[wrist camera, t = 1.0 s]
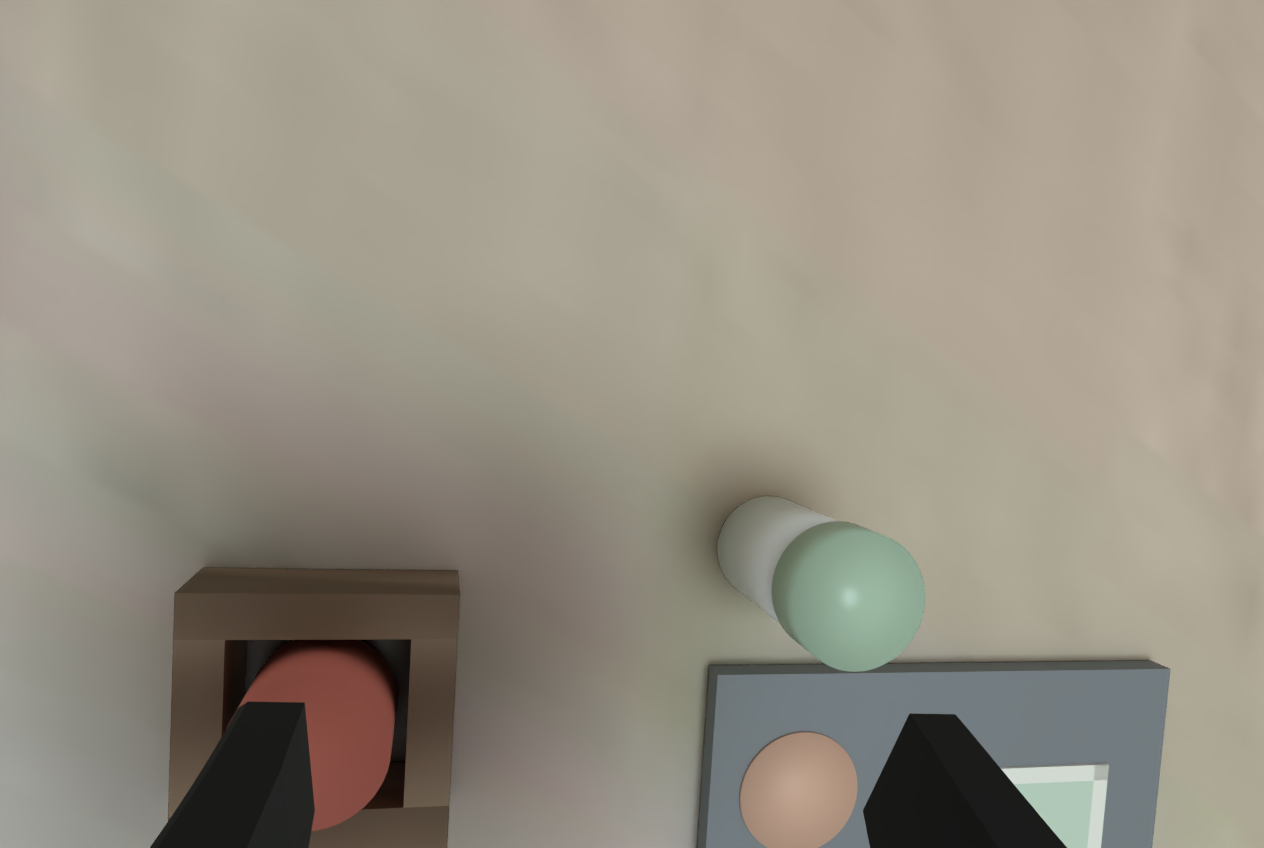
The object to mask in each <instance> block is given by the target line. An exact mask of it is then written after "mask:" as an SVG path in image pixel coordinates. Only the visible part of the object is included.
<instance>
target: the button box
mask: <svg viewBox="0 0 1264 848" xmlns="http://www.w3.org/2000/svg"><path fill="white" fill-rule="evenodd" d="M459 601H460V591H459V579H458V571H444V570H358V569H272V568H202V569H201V570H200V571H199V572H198V573H197V574H195V575H194V576H193V577H192V578H191V579H190V580H189V581H188V582H186V583H185V584H184V585H183V586H182V587H181V588H180V589H179V590H178V591H176V592H175V598H174V632H173V666H172V700H171V734H170V768H169V802H168V821H169V820H170V818H171V816H172V815H173V813H174V812H175V810H176V809H177V807H178V806H179V804H180V803H181V801H182V800H183V798H184V797H185V795H186V794H187V792H188V791H189V789H190V788H191V786H192V784H193V783H194V781H195V780H196V778H197V777H198V775H199V773H200V772H201V770H202V769H203V767H204V765H205V764H206V762H207V761H208V759H209V757H210V756H211V754H212V752H213V751H214V749H215V747H216V746H217V744H218V742H219V741H220V739H221V737H222V736H223V734H224V732H225V730H226V729H227V726H228V724H229V723H230V721H231V719H232V717H233V716H234V714H235V712H236V710H237V709H238V707H239V705H240V703H241V702H242V700H243V698H244V696H245V667H246V640H372V639H411V656H410V677H409V699H408V720H407V741H406V762H403V763H389V767H388V771H387V774H386V776H385V779H384V781H383V783H382V785H381V786H380V788H379V790H378V791H377V793H376V794H375V795H374V797H373V798H372V799H371V800H370V801H369V803H368V804H367V805H366V806H365V807H364V808H362V809H361V810H360V811H359V812H358V813H356V814H355V815H353V816H352V817H350V818H349V819H347V820H345V821H343V822H341V823H339V824H337V825H334V826H332V827H329V828H326V829H321V830H317V831H311V836H310V842H309V848H447V841H448V821H449V801H450V781H451V761H452V741H453V721H454V701H455V681H456V661H457V641H458V621H459Z"/></svg>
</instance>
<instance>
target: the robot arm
mask: <svg viewBox="0 0 1264 848" xmlns="http://www.w3.org/2000/svg"><path fill="white" fill-rule="evenodd" d="M314 813H315V806H314V796H313V785H312V774H311V764H310V753H309V742H308V732H307V721H306V710H305V703H304V702H246V703H245V704H243V705H242V706H240V707H239V708H238V709H237V711H236V713H235V714H234V716H233V718H232V720H231V722H230V723H229V725H228V727H227V729H226V730H225V732H224V734H223V736H222V737H221V739H220V741H219V742H218V744H217V746H216V747H215V749H214V751H213V752H212V754H211V756H210V757H209V759H208V761H207V762H206V764H205V765H204V767H203V769H202V770H201V772H200V773H199V775H198V777H197V778H196V780H195V781H194V783H193V784H192V786H191V788H190V789H189V791H188V792H187V794H186V795H185V797H184V798H183V800H182V801H181V803H180V804H179V806H178V807H177V809H176V810H175V812H174V813H173V815H172V816H171V818H170V820H169V821H168V823H167V824H166V826H165V827H164V829H163V830H162V831H161V833H160V834H159V836H158V837H157V839H156V840H155V841H154V843H153V844H152V846H151V847H150V848H309V842H310V836H311V830H312V824H313V819H314ZM863 814H864V819H865V824H866V829H867V835H868V840H869V845H870V848H1067V847H1066V846H1065V845H1064V843H1063V842H1062V841H1061V840H1060V839H1059V838H1058V836H1057V835H1056V834H1055V833H1054V832H1053V831H1052V829H1051V828H1050V827H1049V826H1048V825H1047V823H1046V822H1045V821H1044V820H1043V819H1042V817H1041V816H1040V815H1039V814H1038V813H1037V812H1036V810H1035V809H1034V808H1033V807H1032V806H1031V804H1030V803H1029V802H1028V801H1027V800H1026V798H1025V797H1024V796H1023V795H1022V794H1021V792H1020V791H1019V790H1018V789H1017V788H1016V786H1015V785H1014V784H1013V783H1012V782H1011V780H1010V779H1009V778H1008V777H1007V775H1006V774H1005V773H1004V772H1003V771H1002V769H1001V768H1000V767H999V766H998V765H997V763H996V762H995V761H994V760H993V759H992V757H991V756H990V755H989V754H988V752H987V751H986V750H985V749H984V748H983V746H982V745H981V744H980V743H979V742H978V740H977V739H976V738H975V737H974V736H973V734H972V733H971V732H970V731H969V730H968V728H967V727H966V726H965V725H964V724H963V723H962V721H961V720H960V719H959V718H958V717H957V715H956V714H913V713H910V714H909V716H908V718H907V720H906V722H905V724H904V726H903V728H902V730H901V732H900V734H899V736H898V738H897V741H896V743H895V745H894V747H893V749H892V751H891V753H890V755H889V757H888V759H887V761H886V763H885V766H884V768H883V770H882V772H881V774H880V776H879V778H878V780H877V782H876V784H875V786H874V788H873V791H872V793H871V795H870V797H869V799H868V801H867V803H866V805H865V807H864V809H863Z"/></svg>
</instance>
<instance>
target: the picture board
mask: <svg viewBox="0 0 1264 848" xmlns="http://www.w3.org/2000/svg"><path fill="white" fill-rule="evenodd" d="M1169 677H1170V669H1169V668H1167V667H1165V666H1162V665H1160V664H1158V663H1155V662H1153V661H1066V662H976V663H886V664H884V665H882V666H880V667H877V668H874V669H871V670H867V671H859V672H850V671H843V670H838V669H835V668H833V667H830V666H828V665H826V664H795V665H709V680H708V694H707V709H706V724H705V738H704V753H703V767H702V782H701V797H700V811H699V826H698V840H697V848H870V845H869V840H868V835H867V829H866V824H865V819H864V814H863V809H864V807H865V805H866V803H867V801H868V799H869V797H870V795H871V793H872V791H873V788H874V786H875V784H876V782H877V780H878V778H879V776H880V774H881V772H882V770H883V768H884V766H885V763H886V761H887V759H888V757H889V755H890V753H891V751H892V749H893V747H894V745H895V743H896V741H897V738H898V736H899V734H900V732H901V730H902V728H903V726H904V724H905V722H906V720H907V718H908V716H909V714H910V713H913V714H956V715H957V717H958V718H959V719H960V720H961V721H962V723H963V724H964V725H965V726H966V727H967V728H968V730H969V731H970V732H971V733H972V734H973V736H974V737H975V738H976V739H977V740H978V742H979V743H980V744H981V745H982V746H983V748H984V749H985V750H986V751H987V752H988V754H989V755H990V756H991V757H992V759H993V760H994V761H995V762H996V763H997V765H998V766H999V767H1000V768H1001V769H1002V771H1003V772H1004V773H1005V774H1006V775H1007V777H1008V778H1009V779H1010V780H1011V782H1012V783H1013V784H1014V785H1015V786H1016V788H1017V789H1018V790H1019V791H1020V792H1021V794H1022V795H1023V796H1024V797H1025V798H1026V800H1027V801H1028V802H1029V803H1030V804H1031V806H1032V807H1033V808H1034V809H1035V810H1036V812H1037V813H1038V814H1039V815H1040V816H1041V817H1042V819H1043V820H1044V821H1045V822H1046V823H1047V825H1048V826H1049V827H1050V828H1051V829H1052V831H1053V832H1054V833H1055V834H1056V835H1057V836H1058V838H1059V839H1060V840H1061V841H1062V842H1063V843H1064V845H1065V846H1066V847H1067V848H1152V844H1153V834H1154V824H1155V814H1156V805H1157V795H1158V785H1159V775H1160V765H1161V756H1162V746H1163V736H1164V726H1165V716H1166V707H1167V697H1168V687H1169Z"/></svg>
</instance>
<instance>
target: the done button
mask: <svg viewBox="0 0 1264 848" xmlns="http://www.w3.org/2000/svg"><path fill="white" fill-rule="evenodd" d="M246 702H304V703H305V710H306V721H307V732H308V742H309V753H310V764H311V774H312V785H313V796H314V806H315V813H314V819H313V824H312V830H311V831H317V830H321V829H326V828H329V827H332V826H334V825H337V824H339V823H341V822H343V821H345V820H347V819H349V818H350V817H352V816H353V815H355V814H356V813H358V812H359V811H360V810H361V809H362V808H364V807H365V806H366V805H367V804H368V803H369V801H370V800H371V799H372V798H373V797H374V795H375V794H376V793H377V791H378V790H379V788H380V786H381V785H382V783H383V781H384V779H385V776H386V774H387V771H388V767H389V763H390V758H391V750H392V742H393V734H394V726H395V718H396V709H397V688H396V682H395V679H394V676H393V674H392V672H391V669H390V667H389V666H388V664H387V663H386V661H385V660H384V659H383V657H382V656H381V655H380V654H379V653H378V652H377V651H376V650H374V649H373V648H372V647H371V646H369V645H368V644H366V643H364V642H363V641H360V640H294V641H292V642H289V643H288V644H286V645H284V646H283V647H281V648H280V649H279V650H277V651H276V652H275V653H274V654H272V655H271V657H270V658H269V659H268V660H267V661H266V662H265V663H264V665H263V666H262V667H261V668H260V670H259V672H258V674H257V675H256V677H255V679H254V681H253V682H252V684H251V686H250V688H249V689H248V691H247V693H246V695H245V696H244V698H243V700H242V702H241V703H240V705H239V707H240V706H242V705H243V704H245V703H246ZM239 707H238V708H239ZM236 711H237V710H236ZM235 713H236V712H235ZM232 718H233V717H232ZM231 720H232V719H231ZM230 722H231V721H230ZM228 725H229V724H228ZM227 727H228V726H227Z"/></svg>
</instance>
